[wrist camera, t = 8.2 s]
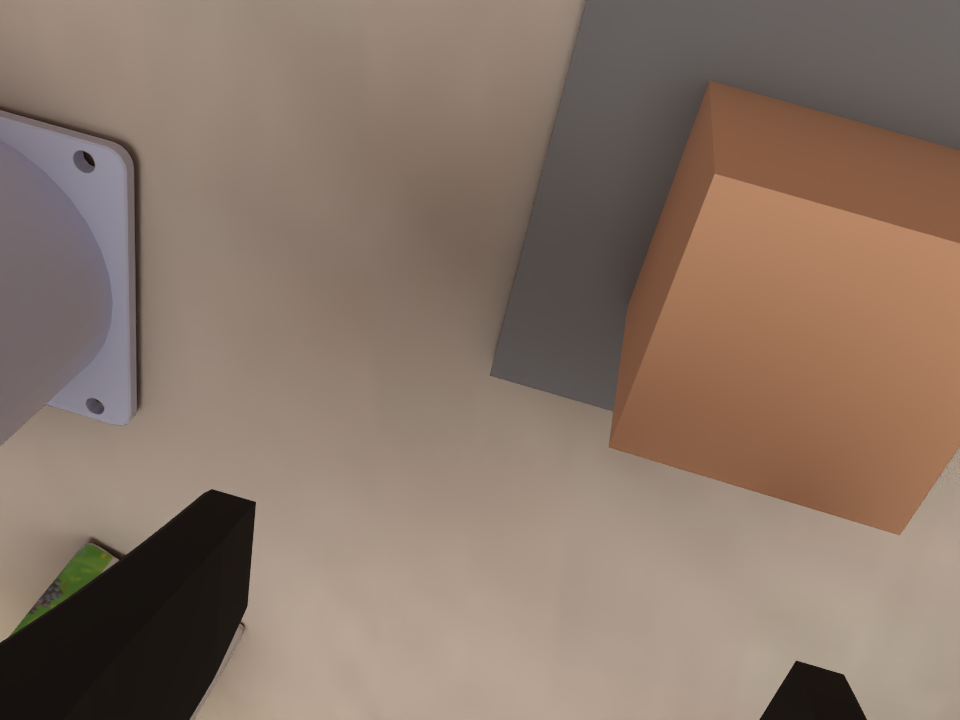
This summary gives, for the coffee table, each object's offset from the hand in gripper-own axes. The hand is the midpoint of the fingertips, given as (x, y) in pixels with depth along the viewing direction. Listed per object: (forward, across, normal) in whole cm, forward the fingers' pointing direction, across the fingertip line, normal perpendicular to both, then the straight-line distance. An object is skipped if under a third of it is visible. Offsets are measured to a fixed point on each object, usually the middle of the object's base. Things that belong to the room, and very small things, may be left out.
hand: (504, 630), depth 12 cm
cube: (+9, -4, -3) cm, 10 cm away
